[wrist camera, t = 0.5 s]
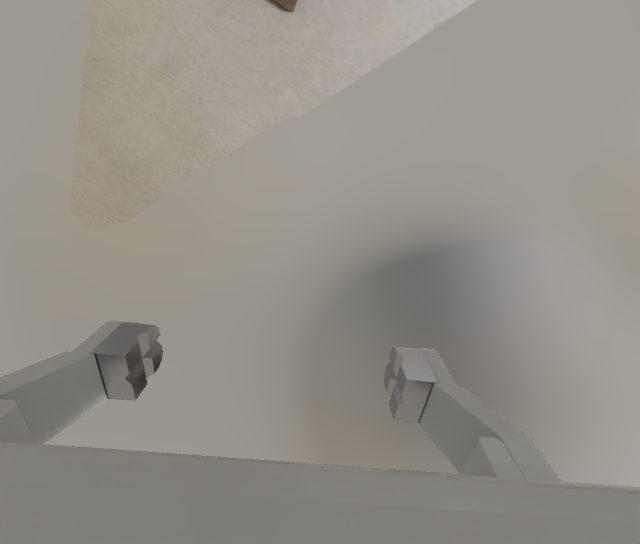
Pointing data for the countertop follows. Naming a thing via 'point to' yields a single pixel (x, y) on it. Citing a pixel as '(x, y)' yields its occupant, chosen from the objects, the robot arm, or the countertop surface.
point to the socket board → (287, 4)
